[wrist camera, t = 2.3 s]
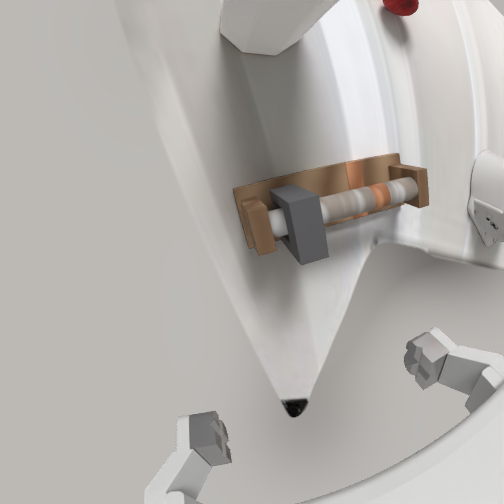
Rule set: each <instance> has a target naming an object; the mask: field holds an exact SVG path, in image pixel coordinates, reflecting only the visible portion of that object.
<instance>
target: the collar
mask: <svg viewBox="0 0 504 504" xmlns="http://www.w3.org/2000/svg"><path fill="white" fill-rule="evenodd" d="M269 191H270V195H271V199H272V203H273V208H274V210H276V209H279V208H283V212H284V216H285V221H286V226H287V230H288V234H287V235H284V236H281V237H280V238H281V240H282V242H283V243H284V244H285V245H286V247H287V248H288V249H289V251H290V252H291V253H292V254H293V256H294V257H295V258H296V260H297V261H298V262H299V263H300V265H304V264H307V263H311V262H314V261H317V260H320V259H323V258H327V257H329V255H328V248H327V241H326V235H325V228H324V222H323V216H322V210H321V204H320V199H319V195H317V194H315V193H313V192H311V191H308V190H306V189H304V188H302V187H299V186H297V185H295V184H291V185H287V186H283V187H279V188H275V189H271V190H269Z"/></svg>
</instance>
